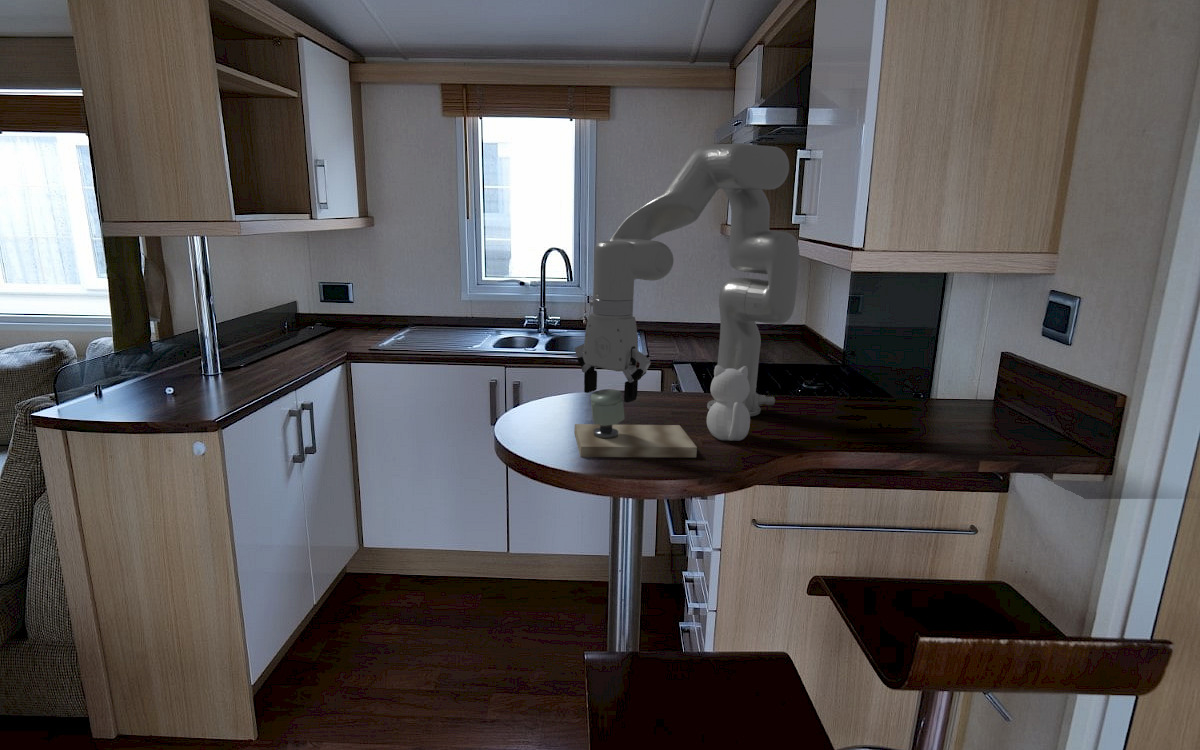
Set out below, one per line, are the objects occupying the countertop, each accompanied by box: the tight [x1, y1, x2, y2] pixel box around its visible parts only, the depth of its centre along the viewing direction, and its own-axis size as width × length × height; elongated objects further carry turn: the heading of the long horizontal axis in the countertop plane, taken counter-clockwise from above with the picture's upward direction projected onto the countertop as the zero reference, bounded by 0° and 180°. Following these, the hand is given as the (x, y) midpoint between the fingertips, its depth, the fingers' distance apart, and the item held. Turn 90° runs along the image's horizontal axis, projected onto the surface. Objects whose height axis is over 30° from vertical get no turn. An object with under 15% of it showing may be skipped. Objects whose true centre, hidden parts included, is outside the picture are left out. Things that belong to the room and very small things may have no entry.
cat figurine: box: [706, 364, 751, 442], centre depth 137 cm, size 9×12×15 cm
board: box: [574, 423, 698, 458], centre depth 131 cm, size 22×14×2 cm, turn 97°
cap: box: [590, 388, 625, 426], centre depth 128 cm, size 6×6×5 cm
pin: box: [593, 425, 618, 439], centre depth 129 cm, size 5×5×7 cm
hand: (609, 396), depth 128 cm, fingers open, 9 cm apart
